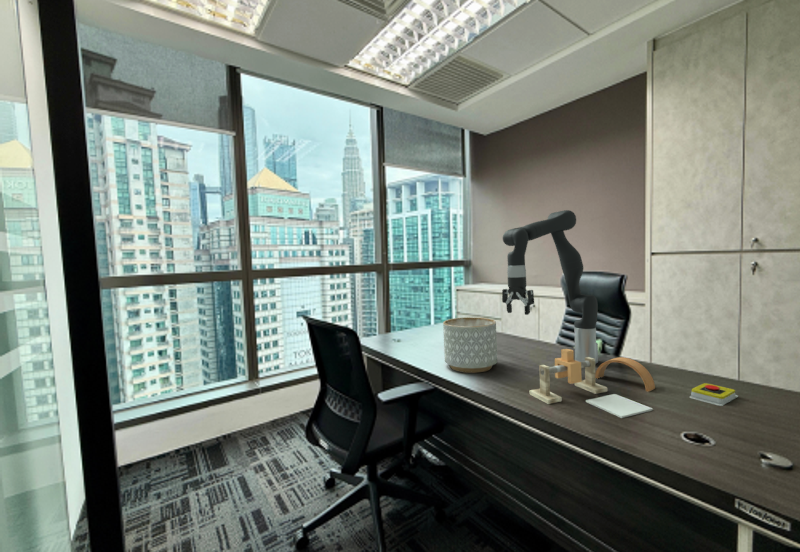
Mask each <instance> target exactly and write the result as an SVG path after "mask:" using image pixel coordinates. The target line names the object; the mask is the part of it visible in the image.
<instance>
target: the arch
mask: <svg viewBox="0 0 800 552" xmlns="http://www.w3.org/2000/svg"><path fill="white" fill-rule="evenodd" d="M611 363H620V364H622V365H626V366H628V367H629V368H631V369H633V370H634V371H635V372H636V373H637V374H638V375H639V376H640V378H641V380H642V381H643V384H644V387H645V392H648V393H649V392H651V391H653V390H655V389H656V384H655V381H654V379H653V376H652V374H651V373H650V372H649V370H648V369H647V368H646V367H645V366H644V365H642V364H641V363H639V362H638V361H636V360H634V359H631V358H629V357H622V356H621V357H620V356H619V357H614V358H611V359H608V360H606V361H604V362H602V363H601V364H600V365H598V367H597V368H596V369H595V377H596V378H597V379H598V378H599V379H600V377H601V378H603V377H605V371H606V369H607V367H608V366H609V364H611ZM597 379H596V380H597Z"/></svg>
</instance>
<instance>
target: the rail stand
mask: <svg viewBox="0 0 800 552" xmlns="http://www.w3.org/2000/svg"><path fill="white" fill-rule="evenodd" d="M538 367H539V368H538V369H539V388H536V389H531V390H530V389H529V395H530V396H532V397H534V398H536V399H538V400H539V401H542V402H543V403H546V404H547V405H551V404H555V403H559V402H562V398H563V397H562V396H560V395H558V394H556V393H553V392H552V391H551V381H550V378H551V376H550V375H551V374H555V373H558V372H563V371H568V367H566V366H564V365H559V366H555V365H553V366H549V365H545V364H541V365H540V364H539V365H538ZM581 369H584V372H585V373H584V378H585V379H582V382H579V383H574V386H575V387H577V388H579V389H583V390H585V391H587V392H590V393H591V394H594V395H595V394H596V395H597V394H602V393H606V392H608V387H607V386H605V385H602V384H599V383H596V381H597V379H596V377H595V374H596V364H595V359H594V358H590V357H586V358H585V361H582V362H581Z"/></svg>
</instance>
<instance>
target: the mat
mask: <svg viewBox="0 0 800 552" xmlns="http://www.w3.org/2000/svg"><path fill="white" fill-rule="evenodd" d="M585 403H587V404H590V405H591V406H593V407H596V408H598V409H600V410H603V411H604V412H607V413H609V414H611V415H614V416H616V417H618V418H620V419H624V418H628V417H631V416H635V415H639V414H643V413H647V412H651V411H654V409H653V407H650V406H647V405H645V404H641V403H639V402H636V401H634V400H631V399H629V398H627V397H624V396H621V395H619V394H616V393H613V394H609V395H603V396H600V397H595V398H589V399H586V400H585Z"/></svg>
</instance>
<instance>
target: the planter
mask: <svg viewBox="0 0 800 552" xmlns="http://www.w3.org/2000/svg"><path fill="white" fill-rule="evenodd" d="M442 325H443V326H442V329H443V331H442V332H443V347H444V348H443V349H444V352H443V353H444V362H445V364H447V365H448V366H449V367H450V368H451V369H452V370H453V371H456V372H461V373H469V374H470V373H471V374H472V373H473V374H475V373H477V374H478V373H484V372H488V371H490V370H491V369H492V367H493V366H495V365H496V364H497V363H498V344H497V343H498V341H497V322H496V320H495V319H492V318H486V317H478V316H477V317H473V316H472V317H470V316H469V317H455V318H449V319H446V320H444V321H443V322H442Z"/></svg>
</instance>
